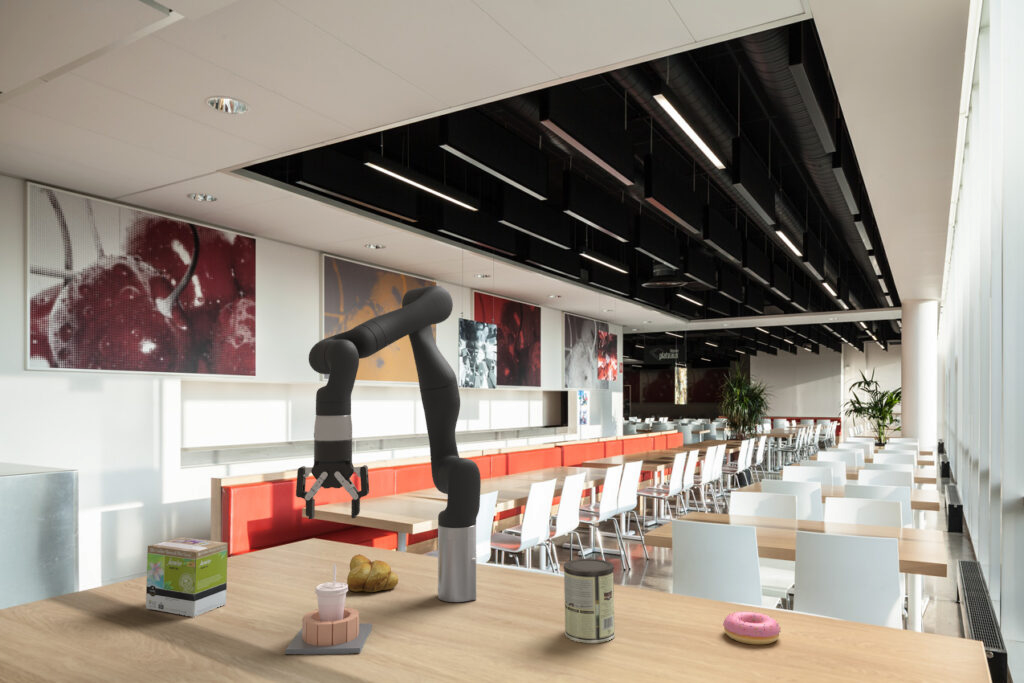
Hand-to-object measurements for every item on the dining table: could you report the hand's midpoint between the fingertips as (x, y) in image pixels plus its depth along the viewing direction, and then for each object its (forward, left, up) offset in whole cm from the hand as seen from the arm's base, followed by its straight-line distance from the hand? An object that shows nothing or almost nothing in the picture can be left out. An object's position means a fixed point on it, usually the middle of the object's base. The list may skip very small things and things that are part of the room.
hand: (332, 518), depth 142 cm
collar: (0, +1, -24) cm, 24 cm away
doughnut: (-85, +2, -25) cm, 88 cm away
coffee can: (-52, 0, -24) cm, 57 cm away
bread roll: (-2, -35, -24) cm, 43 cm away
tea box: (+38, -22, -24) cm, 50 cm away
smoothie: (0, +1, -23) cm, 23 cm away
